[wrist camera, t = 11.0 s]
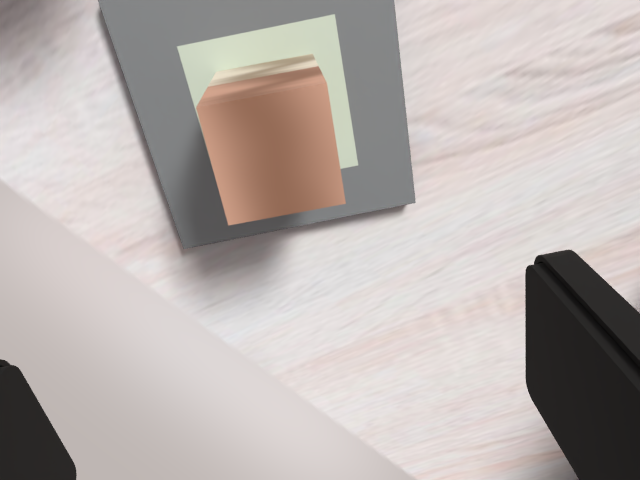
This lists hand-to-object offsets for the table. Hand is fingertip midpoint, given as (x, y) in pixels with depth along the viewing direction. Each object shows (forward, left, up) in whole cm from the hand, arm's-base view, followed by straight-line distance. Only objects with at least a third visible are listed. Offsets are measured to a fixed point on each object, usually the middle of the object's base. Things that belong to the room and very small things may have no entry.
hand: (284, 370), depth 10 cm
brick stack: (0, 0, -21) cm, 21 cm away
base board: (0, 0, -22) cm, 22 cm away
